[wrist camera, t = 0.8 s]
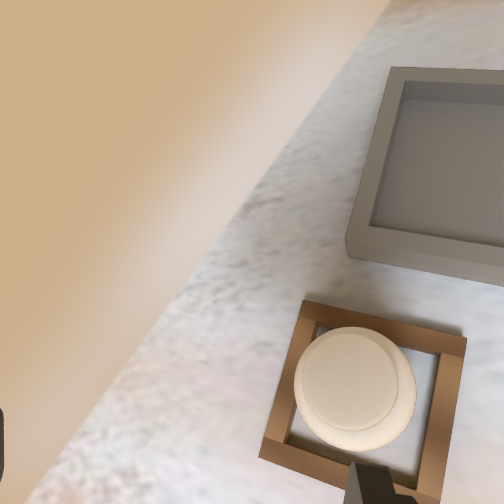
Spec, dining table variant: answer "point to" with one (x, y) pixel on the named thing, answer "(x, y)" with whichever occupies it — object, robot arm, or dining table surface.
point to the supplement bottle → (355, 389)
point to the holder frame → (400, 335)
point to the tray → (435, 176)
